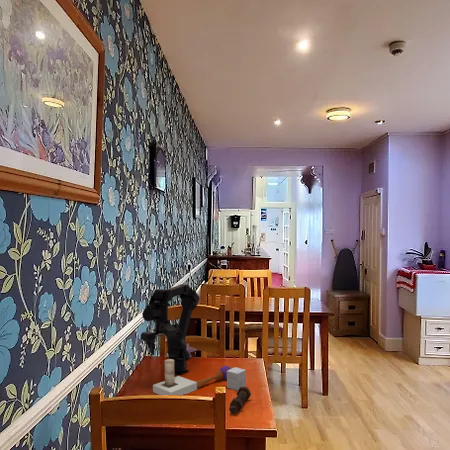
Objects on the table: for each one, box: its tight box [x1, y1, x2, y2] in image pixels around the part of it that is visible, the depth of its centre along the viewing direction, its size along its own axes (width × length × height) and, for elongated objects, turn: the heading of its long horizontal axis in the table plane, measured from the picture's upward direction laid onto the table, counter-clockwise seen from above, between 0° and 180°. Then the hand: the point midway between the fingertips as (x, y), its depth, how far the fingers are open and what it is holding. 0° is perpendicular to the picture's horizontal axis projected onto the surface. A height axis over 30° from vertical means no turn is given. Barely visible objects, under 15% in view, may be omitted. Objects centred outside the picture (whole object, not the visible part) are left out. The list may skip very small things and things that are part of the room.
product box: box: [226, 366, 247, 392], centre depth 174 cm, size 6×6×7 cm
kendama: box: [193, 365, 232, 390], centre depth 180 cm, size 6×6×20 cm
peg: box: [164, 358, 175, 388], centre depth 171 cm, size 4×4×13 cm
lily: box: [186, 343, 198, 358], centre depth 213 cm, size 12×12×10 cm
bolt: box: [228, 386, 252, 415], centre depth 155 cm, size 6×5×15 cm
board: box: [152, 375, 198, 396], centre depth 172 cm, size 14×12×3 cm
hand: (161, 352), depth 181 cm, fingers open, 9 cm apart
